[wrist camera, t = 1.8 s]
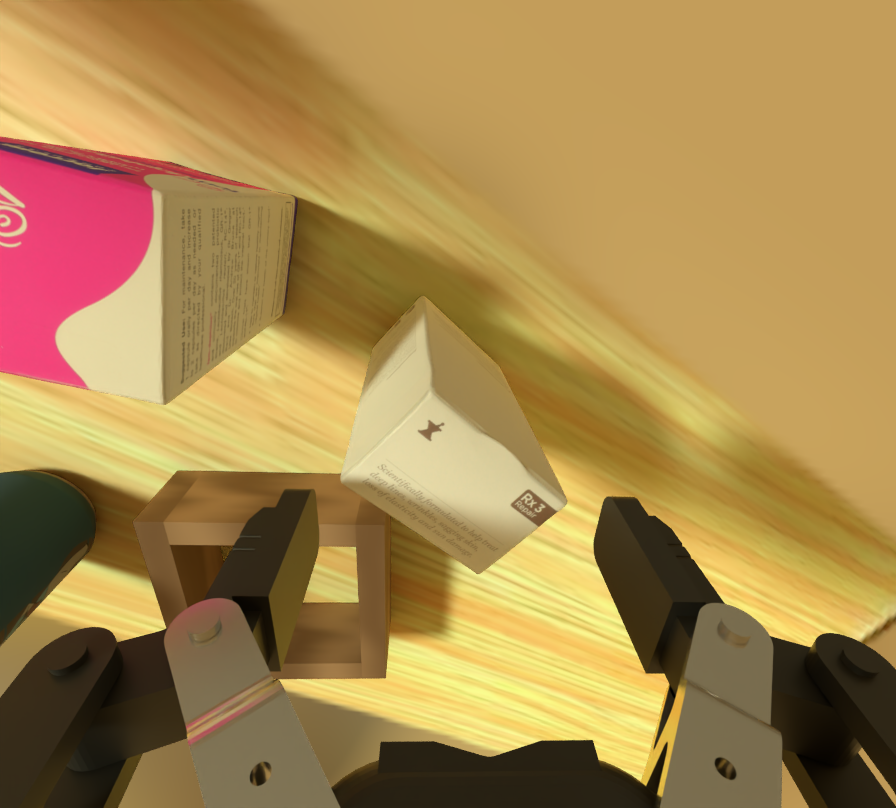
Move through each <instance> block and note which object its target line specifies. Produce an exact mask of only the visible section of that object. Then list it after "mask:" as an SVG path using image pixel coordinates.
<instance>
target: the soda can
mask: <svg viewBox="0 0 896 808" xmlns="http://www.w3.org/2000/svg"><path fill="white" fill-rule="evenodd" d="M95 530H96V512H95V509H94V507H93V504H92V503H91V501H90V500H89V498H88V497H87V496H86V495H85V493H84V492H83V491H82V490H80V489H79V488H78V487H77V486H75V485H74V484H72V483H71V482H69V481H68V480H66V479H64V478H62V477H59V476H57V475H54V474H51V473H47V472H43V471H35V470H25V471H13V472H4V473H0V646H1V645H2V644H3V643H4V642H5V641H6V640H7V639H8V638H9V637H10V636H11V635H12V633H13V632H14V631H15V630H16V629H17V628H18V627H19V626H20V625H21V624H22V623H23V622H24V621H25V620H26V618H27V617H28V616H29V615H30V614H31V613H32V612H33V611H34V610H35V609H36V608H37V607H38V606H39V605H40V603H41V602H42V601H43V600H44V599H45V598H46V597H47V596H48V595H49V594H50V593H51V592H52V591H53V590H54V588H55V587H56V586H57V585H58V584H59V583H60V582H61V581H62V580H63V579H64V578H65V577H66V576H67V575H68V574H69V572H70V571H71V570H72V569H73V568H74V567H75V566H76V565H77V564H78V563H79V562H80V561H81V560H82V559H83V557H84V556H85V555H86V554H87V553H88V552H89V550H90V549H91V547H92V544H93V542H94V538H95Z"/></svg>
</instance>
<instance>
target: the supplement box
mask: <svg viewBox="0 0 896 808" xmlns="http://www.w3.org/2000/svg"><path fill="white" fill-rule="evenodd" d="M297 205H298V200H297V198H296V197H295V196H293V195H289V194H284V193H279V192H275V191H271V190H266V189H262V188H259V187H255V186H251V185H247V184H244V183H240V182H236V181H233V180H229V179H225V178H222V177H218V176H215V175H211V174H207V173H204V172H200V171H197V170H193V169H191V168H188V167H185V166H181V165H178V164H175V163H172V162H166V161H159V160H153V159H146V158H140V157H134V156H127V155H120V154H114V153H107V152H100V151H93V150H87V149H80V148H73V147H66V146H60V145H53V144H47V143H40V142H33V141H27V140H19V139H12V138H6V137H0V372H3V373H9V374H14V375H18V376H23V377H27V378H32V379H37V380H42V381H47V382H51V383H57V384H62V385H67V386H72V387H77V388H82V389H87V390H92V391H97V392H102V393H107V394H113V395H118V396H123V397H129V398H133V399H138V400H143V401H148V402H152V403H157V404H161V405H166V404H167V403H169V402H170V401H172V400H173V399H174V398H176V397H177V396H178V395H179V394H181V393H182V392H183V391H185V390H186V389H187V388H189V387H190V386H191V385H192V384H194V383H195V382H196V381H197V380H199V379H200V378H201V377H202V376H204V375H205V374H206V373H208V372H209V371H210V370H212V369H213V368H214V367H215V366H217V365H218V364H219V363H221V362H222V361H223V360H224V359H226V358H227V357H228V356H230V355H231V354H232V353H234V352H235V351H236V350H237V349H239V348H240V347H241V346H242V345H244V344H245V343H247V342H248V341H249V340H250V339H252V338H253V337H254V336H256V335H257V334H258V333H260V332H261V331H262V330H264V329H265V328H266V327H267V326H269V325H270V324H271V323H272V322H274V321H275V320H276V319H278V318H279V317H280V316H281V315H283V314H284V313H285V307H286V300H287V291H288V281H289V271H290V262H291V255H292V246H293V239H294V232H295V222H296V214H297Z"/></svg>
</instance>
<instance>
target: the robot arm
mask: <svg viewBox="0 0 896 808" xmlns="http://www.w3.org/2000/svg"><path fill="white" fill-rule="evenodd" d="M318 549H319V523H318V512H317V501H316V493H315V490H314V489H289V488H286V489H285V490H284V491H283V493H282V495H281V497H280V499H279V501H278V503H277V505H276V507H263V508H262V509H260V510H259V511H258V512H257V513H256V514H254V515H253V516H252V517H251V518H250V519H249V520H248V521H247V523H246V524H245V526H244V528H243V530H242V531H241V533H240V535H239V538H238V539H237V540H236V542H235V544H234V546H233V548H232V551H230V553H229V555H228V557H227V558H226V560H225V562H224V564H223V566H222V567H221V569H220V571H219V573H218V575H217V576H216V578H215V580H214V582H213V584H212V585H211V587H210V589H209V591H208V592H207V594H206V596H205V598H204V599H203V601H201V602H199V603H196V604H194V605H192V606H190V607H189V608H187V609H186V610H184V611H183V612H181V613H180V614H179V615H178V616H177V617H176V618H175V619H174V620H173V621H172V623H171V624H170V625H169V627H168V628H167V629H165V630H162V631H159V632H155V633H152V634H148V635H144V636H140V637H136V638H132V639H128V640H124V641H121V642H117V641H116V638H115V636H114V635H113V633H112V632H111V631H109V630H107V629H105V628H100V627H90V628H84V629H79V630H76V631H73V632H70V633H68V634H66V635H63V636H61V637H60V638H58V639H56V640H54V641H53V642H51V643H49V644H48V645H46V646H45V647H44V648H43V649H41V650H40V651H39V652H38V653H37V654H36V655H35V656H33V658H32V659H31V660H30V661H29V662H28V663H27V664H26V666H25V667H24V668H23V670H22V671H21V672H20V673H19V675H18V676H17V677H16V678H15V680H14V681H13V682H12V683H11V685H10V686H9V687H8V689H7V690H6V691H5V692H4V694H3V695H2V696H1V698H0V808H118V806H119V804H120V802H121V800H122V798H123V796H124V793H125V791H126V789H127V787H128V785H129V782H130V780H131V778H132V776H133V773H134V771H135V769H136V767H137V765H138V763H139V761H140V758H141V756H142V754H143V753H145V752H148V751H151V750H154V749H157V748H160V747H163V746H166V745H169V744H171V743H175V742H178V741H180V740H183V739H186V738H188V743H189V746H190V751H191V754H192V758H193V762H194V766H195V770H196V773H197V777H198V781H199V785H200V789H201V792H202V796H203V800H204V804H205V808H781V793H782V792H781V791H782V760H783V762H784V764H785V766H786V767H787V769H788V771H789V773H790V775H791V776H792V778H793V780H794V782H795V783H796V785H797V787H798V788H799V790H800V792H801V794H802V796H803V798H804V799H805V801H806V803H807V805H808V806H809V808H896V806H895V804H894V803H893V802H892V800H891V799H890V797H889V796H888V795H887V793H886V792H885V790H884V789H883V787H882V786H881V785H880V783H879V782H878V781H877V779H876V778H875V776H874V775H873V773H872V772H871V770H870V769H869V768H868V766H867V765H866V763H865V762H864V761H863V759H862V758H861V757H860V755H859V754H858V752H859V751H860V749H861V748H863V749H864V751H865V752H866V753H867V755H868V756H869V757H870V759H871V760H872V762H873V763H874V764H875V766H876V767H877V769H878V770H879V771H880V773H881V774H882V775H883V777H884V778H885V780H886V781H887V782H888V784H889V785H890V786H891V788H892V789H893V791H894V792H895V794H896V669H895V668H894V667H893V666H892V665H891V664H890V663H889V662H888V661H887V660H886V659H884V658H883V657H882V656H881V655H880V654H878V653H877V652H876V651H874V650H873V649H871V648H870V647H868V646H866V645H865V644H863V643H861V642H859V641H857V640H855V639H852V638H850V637H847V636H844V635H840V634H834V633H826V634H822V635H820V636H818V638H817V639H816V640H815V642H814V644H813V645H812V647H807V646H803V645H800V644H796V643H792V642H789V641H785V640H782V639H778V638H774V637H771V636H769V634H768V632H767V631H766V630H765V628H764V627H763V626H762V625H761V624H760V623H759V622H758V621H757V620H755V619H754V618H753V617H752V616H750V615H749V614H747V613H745V612H744V611H742V610H740V609H738V608H736V607H733V606H730V605H727V604H725V603H724V602H723V601H722V599H721V598H720V596H719V595H718V594H717V592H716V591H715V589H714V588H713V587H712V585H711V584H710V582H709V581H708V580H707V578H706V577H705V575H704V574H703V572H702V571H701V570H700V568H699V567H698V565H697V564H696V563H695V561H694V560H693V559H691V556H690V554H689V553H688V551H687V550H686V549H685V547H682V543H681V542H680V540H679V539H678V537H677V536H676V535H675V533H674V532H673V530H672V529H671V528H670V527H668V526H667V525H666V524H665V523H663V522H662V521H661V520H660V519H658V518H657V517H656V516H648V514H647V513H646V511H645V510H644V508H643V507H642V505H641V504H640V502H639V501H638V500H637V499H636V498H635V497H606V498H605V500H604V502H603V505H602V509H601V513H600V517H599V521H598V525H597V529H596V533H595V537H594V555H595V559H596V562H597V565H598V567H599V569H600V571H601V574H602V576H603V578H604V580H605V583H606V585H607V587H608V589H609V592H610V594H611V596H612V598H613V600H614V603H615V605H616V607H617V609H618V612H619V614H620V616H621V618H622V621H623V623H624V625H625V627H626V630H627V632H628V634H629V636H630V639H631V641H632V643H633V645H634V648H635V650H636V652H637V654H638V657H639V659H640V661H641V663H642V666H643V668H644V670H645V672H646V673H665V676H666V678H667V680H668V682H669V685H668V687H667V690H666V692H665V696H664V700H663V704H662V708H661V711H660V715H659V719H658V723H657V727H656V731H655V734H654V738H653V742H652V746H651V750H650V754H649V757H648V761H647V764H646V768H645V771H644V774H643V776H642V779H641V782H640V781H639V780H637V779H636V778H634V777H633V776H632V775H630V774H628V773H627V772H625V771H623V770H621V769H619V768H618V767H615V766H613V765H611V764H608V763H606V762H604V761H600V760H598V757H597V753H596V750H595V746H594V743H593V740H565V741H539V742H536V743H533V744H530V745H527V746H524V747H521V748H518V749H515V750H512V751H509V752H506V753H503V754H500V755H497V756H493V757H486V756H482V755H479V754H475V753H471V752H468V751H464V750H461V749H458V748H455V747H451V746H448V745H444V744H441V743H437V742H434V741H432V742H381V745H380V756H379V760H378V761H376V762H372V763H369V764H367V765H365V766H363V767H361V768H358V769H357V770H355V771H353V772H351V773H350V774H348V775H347V776H345V777H344V778H342V779H341V780H340V781H339V782H337V783H336V784H335V785H334V786H332V787H330V785H329V783H328V781H327V778H326V776H325V774H324V772H323V770H322V768H321V766H320V764H319V761H318V759H317V757H316V755H315V753H314V751H313V749H312V747H311V745H310V743H309V740H308V738H307V736H306V734H305V732H304V730H303V728H302V726H301V723H300V721H299V719H298V717H297V715H296V713H295V711H294V709H293V706H292V705H291V702H290V700H289V698H288V696H287V694H286V692H285V690H284V688H283V686H282V684H281V682H280V681H279V680H278V679H276V680H274V679H273V677H272V675H271V673H270V672H281V670H282V667H283V664H284V661H285V657H286V654H287V651H288V648H289V645H290V641H291V638H292V635H293V632H294V629H295V625H296V622H297V619H298V616H299V613H300V609H301V606H302V603H303V600H304V597H305V593H306V590H307V587H308V584H309V581H310V577H311V574H312V571H313V568H314V565H315V561H316V558H317V554H318Z"/></svg>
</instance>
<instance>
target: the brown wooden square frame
mask: <svg viewBox="0 0 896 808" xmlns="http://www.w3.org/2000/svg"><path fill="white" fill-rule="evenodd" d="M286 488H289V489H314V490H315V493H316V501H317V512H318V523H319V546H332V547H356V552H357V574H358V596H359V603H302V606H301V609H300V613H299V616H298V619H297V622H296V625H295V629H294V632H293V635H292V638H291V641H290V645H289V648H288V651H287V654H286V657H285V661H284V664H283V667H282V670H281V672H270V673H271V675H272V677H273V679H360V678H386V669H387V657H388V645H389V633H390V621H391V516H390V515H389V514H387V513H386V512H384V511H383V510H381V509H380V508H378V507H377V506H375V505H374V504H372V503H371V502H369V501H368V500H366V499H365V498H363V497H362V496H360V495H359V494H357V493H355V492H354V491H352V490H351V489H349V488H348V487H346V486H345V485H343V484H342V483H341V474H312V473H264V472H216V471H177V472H176V473H175V474H174V475H173V476H172V477H171V479H170V480H169V481H168V482H167V483H166V484H165V485H164V486H163V488H162V489H161V490H160V491H159V492H158V493H157V494H156V495H155V497H154V498H153V499H152V500H151V501H150V502H149V503H148V505H147V506H146V507H145V508H144V509H143V510H142V511H141V512H140V514H139V515H138V516H137V517H136V518H135V519H134V520H133V525H134V528H135V531H136V535H137V538H138V541H139V544H140V547H141V550H142V553H143V556H144V560H145V563H146V566H147V569H148V572H149V575H150V578H151V581H152V584H153V588H154V591H155V594H156V597H157V600H158V603H159V606H160V609H161V613H162V616H163V619H164V622H165V625H166V628H168V627H169V625H170V624H171V623H172V621H173V620H174V619H175V618H176V617H177V616H178V615H179V614H180V613H181V612H183V611H184V610H186V609H187V608H189V607H190V606H192V605H194V604H196V603H199V602H201V601H203V599H204V598H205V596H206V594H207V592H208V591H209V589H210V587H211V585H212V584H213V582H214V580H215V578H216V576H217V575H218V573H219V571H220V569H221V567H222V566H223V564H224V563H223V558H222V554H221V549H220V545H234V544H235V542H236V540H237V539H238V538H239V535H240V533H241V531H242V530H243V528H244V526H245V524H246V523H247V521H248V520H249V519H250V518H251V517H252V516H253V515H254V514H256V513H257V512H258V511H259V510H260V509H262V508H263V507H276V505H277V503H278V501H279V499H280V497H281V495H282V493H283V491H284V490H285V489H286Z"/></svg>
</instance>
